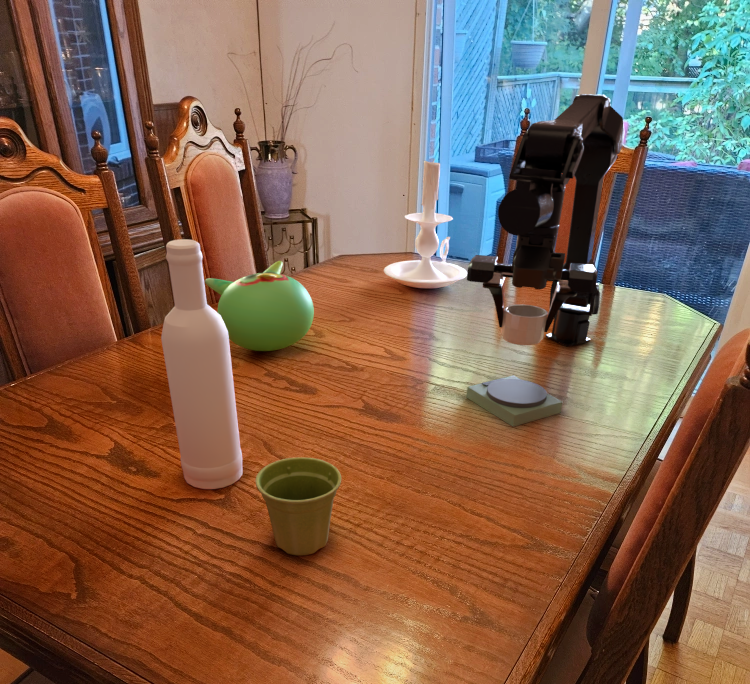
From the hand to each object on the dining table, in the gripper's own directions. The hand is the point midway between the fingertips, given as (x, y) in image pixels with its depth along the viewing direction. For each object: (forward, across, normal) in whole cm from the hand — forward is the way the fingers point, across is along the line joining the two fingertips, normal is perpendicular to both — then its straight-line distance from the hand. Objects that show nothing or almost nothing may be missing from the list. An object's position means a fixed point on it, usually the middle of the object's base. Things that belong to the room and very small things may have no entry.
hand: (522, 329), depth 105 cm
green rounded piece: (+12, -48, +10) cm, 51 cm away
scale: (+12, 0, -2) cm, 12 cm away
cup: (+2, 0, 0) cm, 2 cm away
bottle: (+13, -37, -36) cm, 53 cm away
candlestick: (+11, -26, +63) cm, 70 cm away
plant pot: (+13, -21, -46) cm, 52 cm away
